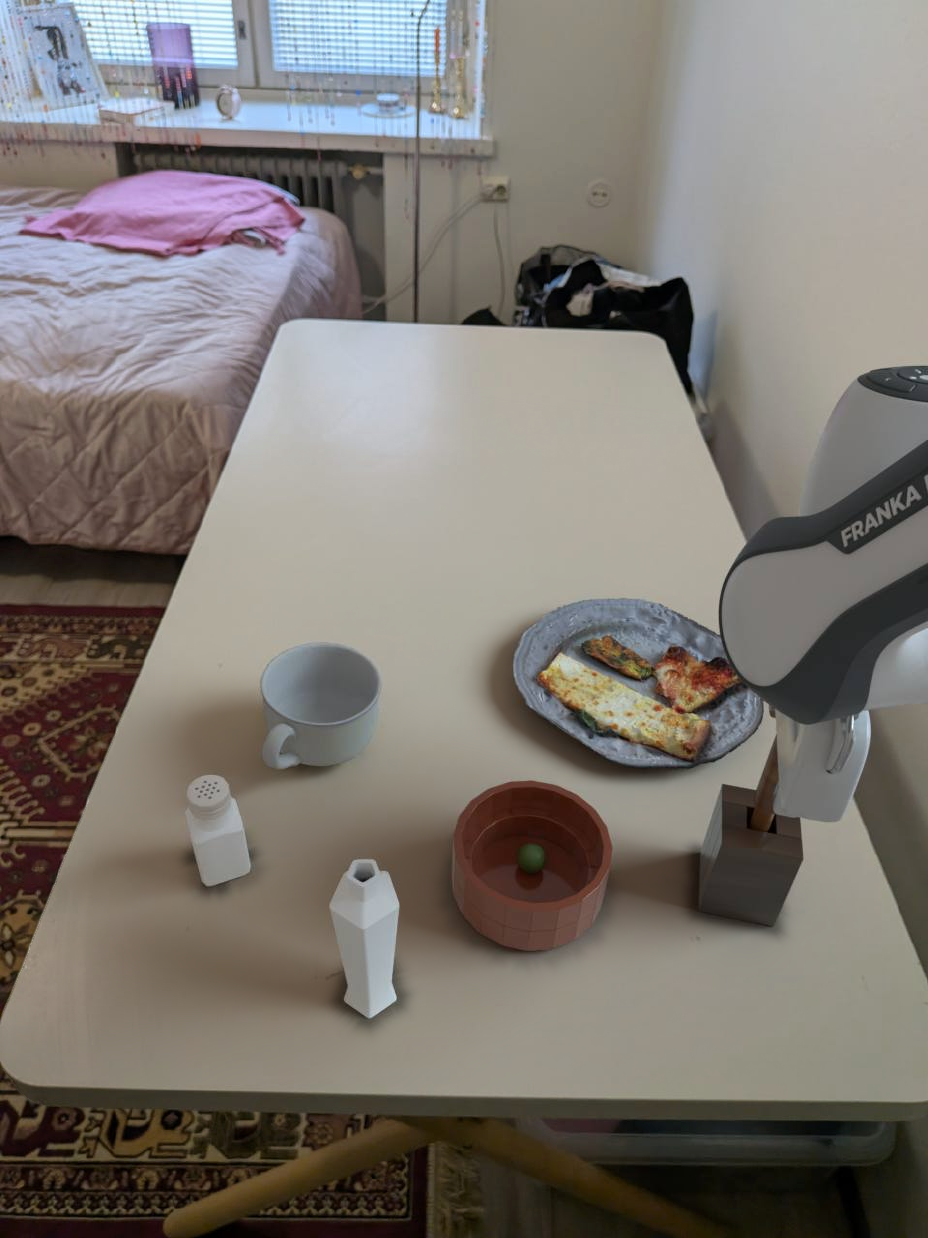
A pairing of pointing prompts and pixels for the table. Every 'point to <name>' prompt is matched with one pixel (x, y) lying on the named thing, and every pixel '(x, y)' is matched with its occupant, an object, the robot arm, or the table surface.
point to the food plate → (636, 683)
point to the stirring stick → (766, 793)
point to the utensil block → (747, 860)
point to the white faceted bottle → (366, 935)
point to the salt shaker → (216, 830)
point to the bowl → (513, 898)
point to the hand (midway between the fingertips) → (781, 757)
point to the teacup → (318, 705)
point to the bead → (531, 858)
